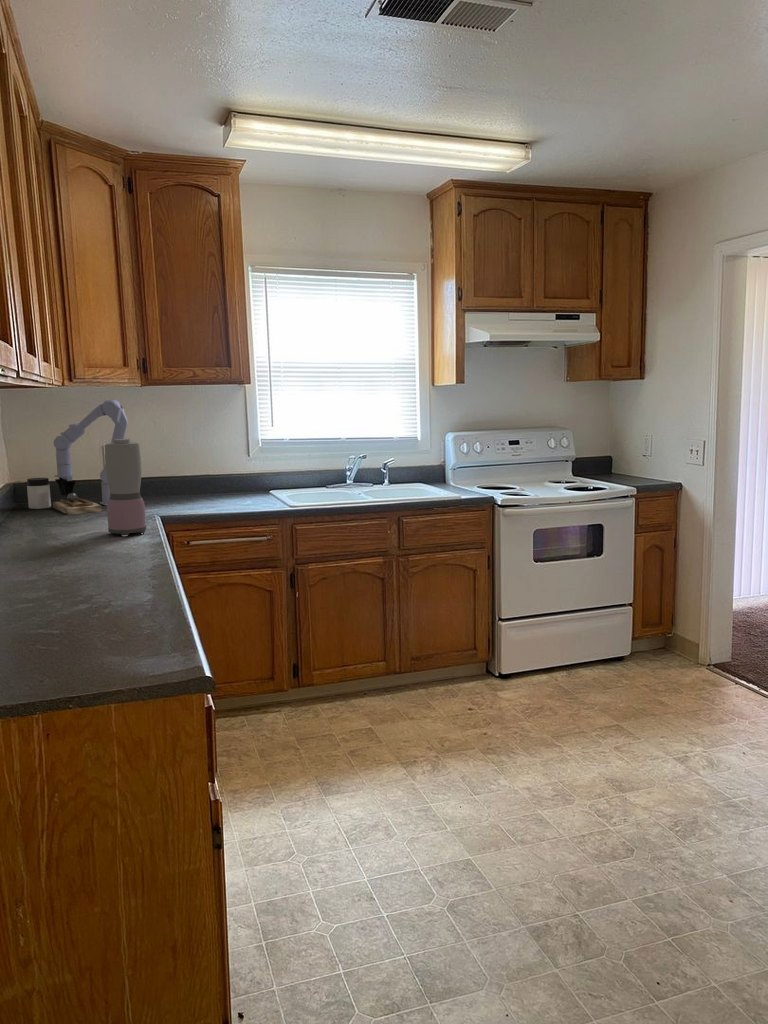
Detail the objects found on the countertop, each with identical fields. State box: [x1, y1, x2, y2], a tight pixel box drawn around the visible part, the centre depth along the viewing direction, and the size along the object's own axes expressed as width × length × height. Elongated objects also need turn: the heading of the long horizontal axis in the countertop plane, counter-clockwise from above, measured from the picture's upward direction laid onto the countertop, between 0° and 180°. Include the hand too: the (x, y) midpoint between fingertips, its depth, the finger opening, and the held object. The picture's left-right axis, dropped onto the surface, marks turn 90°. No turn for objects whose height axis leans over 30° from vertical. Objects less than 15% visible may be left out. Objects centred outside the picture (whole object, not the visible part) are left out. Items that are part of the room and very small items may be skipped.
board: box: [52, 497, 103, 516], centre depth 305 cm, size 13×22×3 cm, turn 37°
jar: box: [26, 477, 52, 510], centre depth 311 cm, size 9×8×12 cm
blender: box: [104, 438, 147, 536], centre depth 253 cm, size 16×12×32 cm
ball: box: [66, 492, 79, 502], centre depth 310 cm, size 4×4×4 cm
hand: (66, 496), depth 317 cm, fingers open, 7 cm apart
